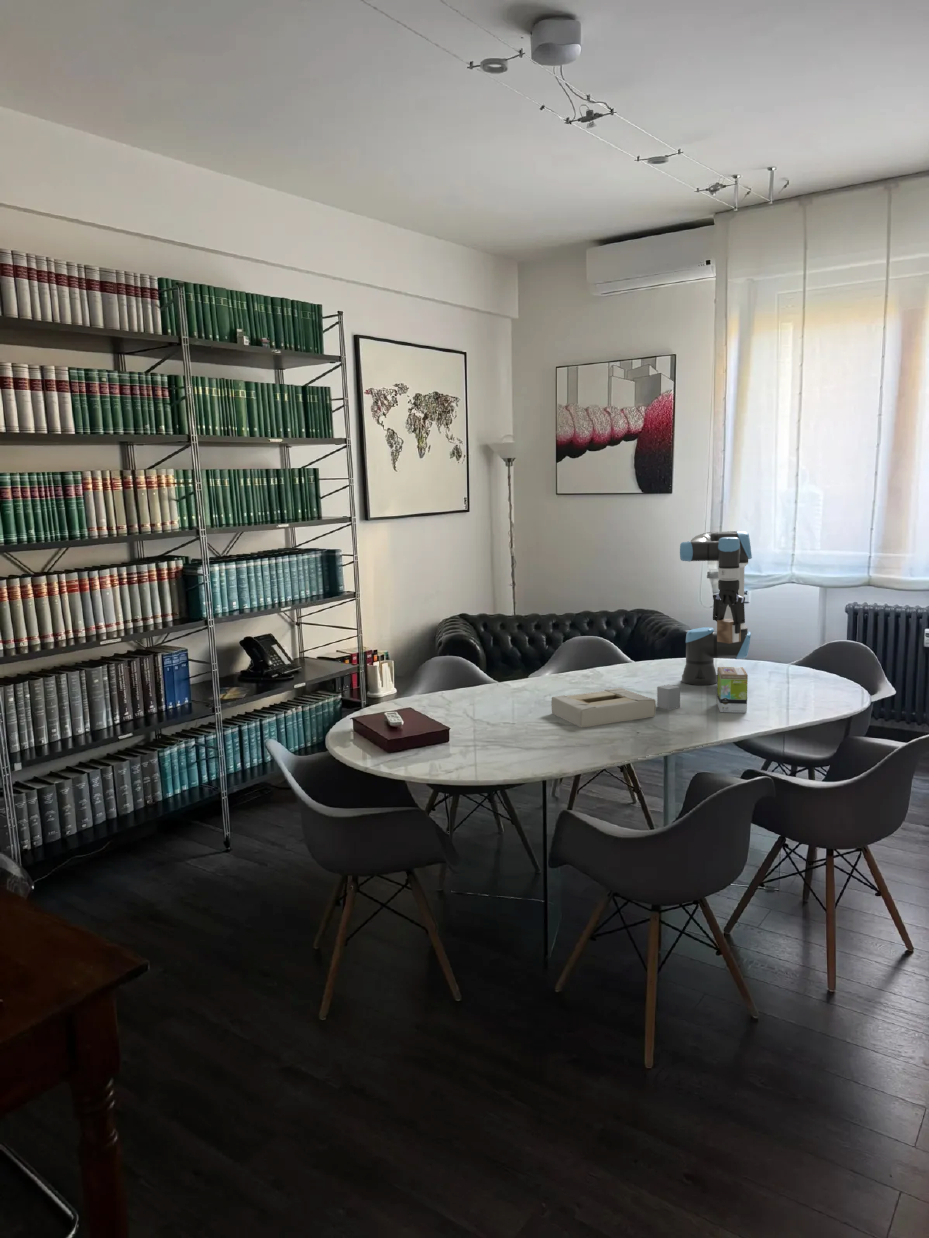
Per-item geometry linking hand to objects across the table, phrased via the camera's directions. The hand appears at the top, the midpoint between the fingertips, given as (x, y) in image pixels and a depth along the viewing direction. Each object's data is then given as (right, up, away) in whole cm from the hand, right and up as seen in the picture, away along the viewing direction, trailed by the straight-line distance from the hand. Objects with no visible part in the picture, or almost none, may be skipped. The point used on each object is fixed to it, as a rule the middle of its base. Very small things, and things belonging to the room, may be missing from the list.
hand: (728, 640), depth 320 cm
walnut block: (0, 0, 0) cm, 0 cm away
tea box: (+3, -26, +5) cm, 27 cm away
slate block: (-20, -26, +10) cm, 34 cm away
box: (-47, -29, +2) cm, 55 cm away
